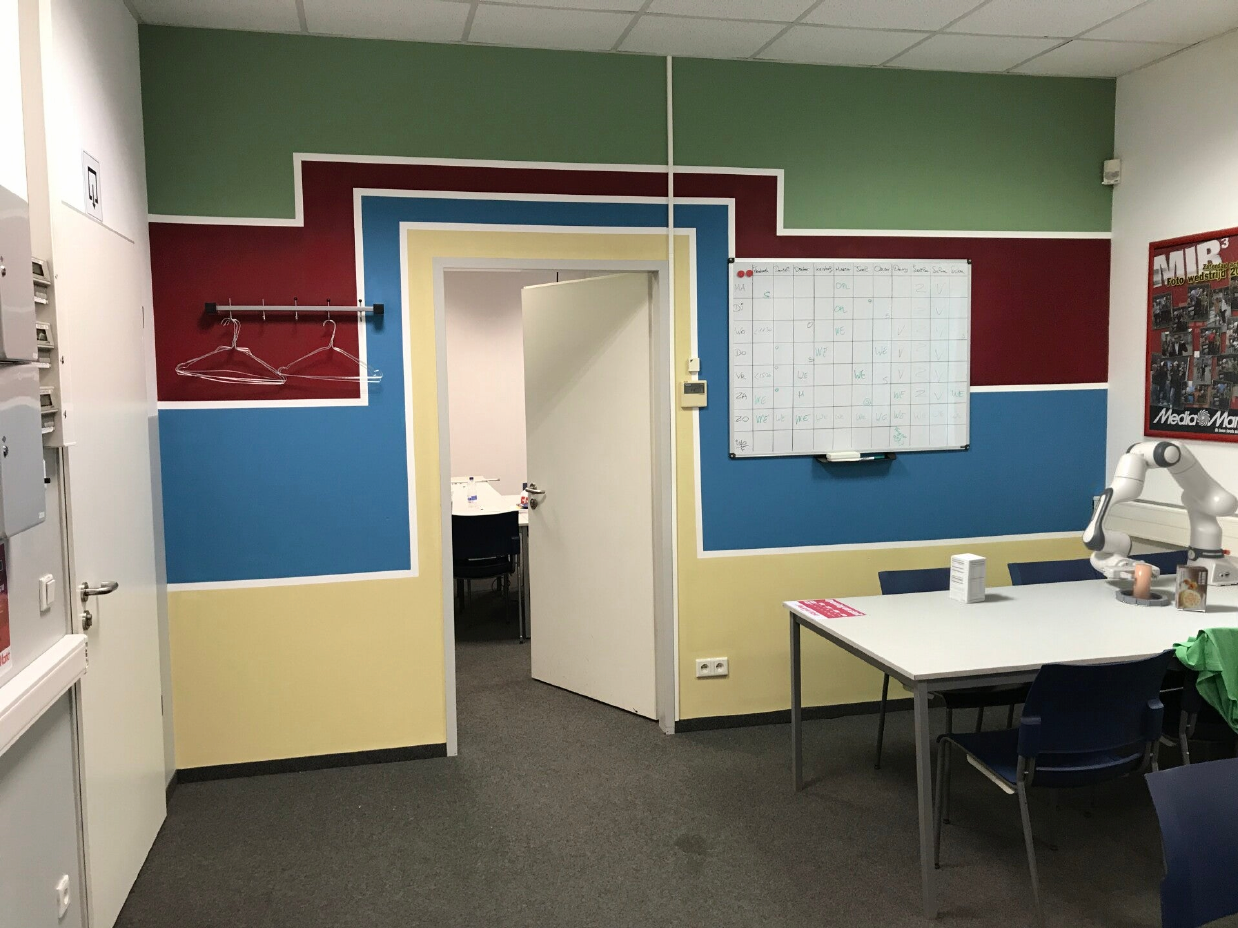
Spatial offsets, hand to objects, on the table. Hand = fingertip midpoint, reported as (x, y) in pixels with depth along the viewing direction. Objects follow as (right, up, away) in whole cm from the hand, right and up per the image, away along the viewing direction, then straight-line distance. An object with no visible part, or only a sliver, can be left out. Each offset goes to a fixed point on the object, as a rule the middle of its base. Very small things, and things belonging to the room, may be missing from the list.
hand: (1144, 576), depth 349 cm
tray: (0, -9, +2) cm, 10 cm away
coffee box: (+11, -11, -10) cm, 18 cm away
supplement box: (-66, -9, +2) cm, 67 cm away
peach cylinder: (0, -9, +2) cm, 9 cm away
